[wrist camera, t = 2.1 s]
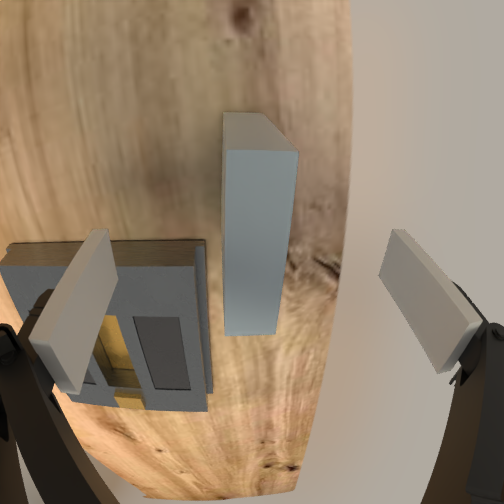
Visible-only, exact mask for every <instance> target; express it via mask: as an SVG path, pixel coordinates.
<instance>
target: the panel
mask: <svg viewBox="0 0 504 504" xmlns="http://www.w3.org/2000/svg"><path fill="white" fill-rule="evenodd" d="M298 158H299V151H298V150H297V149H296V148H295V147H294V146H293V145H292V144H291V142H290V141H289V140H288V139H287V138H286V137H285V136H284V135H283V134H282V133H281V132H280V131H279V130H278V129H277V127H276V126H275V125H274V124H273V123H272V122H271V121H270V120H269V119H268V118H267V117H266V116H265V115H264V114H263V113H250V112H223V144H222V201H221V243H222V276H223V303H224V326H225V336H249V335H273V334H276V327H277V320H278V314H279V307H280V300H281V293H282V286H283V279H284V272H285V265H286V257H287V250H288V242H289V235H290V227H291V219H292V211H293V202H294V194H295V185H296V177H297V168H298Z"/></svg>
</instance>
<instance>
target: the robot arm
mask: <svg viewBox="0 0 504 504" xmlns="http://www.w3.org/2000/svg"><path fill="white" fill-rule="evenodd" d="M379 277H380V279H381V280H382V282H383V283H384V285H385V287H386V288H387V290H388V291H389V293H390V294H391V296H392V297H393V299H394V301H395V302H396V304H397V305H398V307H399V309H400V310H401V312H402V313H403V315H404V317H405V318H406V320H407V322H408V323H409V325H410V327H411V328H412V330H413V332H414V333H415V335H416V337H417V339H418V340H419V342H420V344H421V345H422V347H423V348H424V351H425V352H426V354H427V356H428V358H429V360H430V361H431V363H432V365H433V367H434V368H435V370H436V372H437V374H440V373H443V372H447V371H450V370H451V369H452V368H453V367H454V365H455V364H456V362H457V361H459V362H460V364H461V367H460V368H459V370H458V371H457V372H456V374H455V375H454V377H453V378H452V379H451V381H450V383H449V384H450V385H451V384H452V383H453V381H454V380H456V384H455V385H454V386H455V389H454V394H453V399H452V404H451V408H450V413H449V417H448V421H447V425H446V429H445V433H444V437H443V440H442V444H441V447H440V451H439V454H438V457H437V460H436V463H435V466H434V469H433V473H432V475H431V478H430V481H429V483H428V486H427V489H426V492H425V494H424V497H423V499H422V502H421V504H504V327H503V326H502V325H500V324H498V323H490V324H489V322H488V321H487V320H486V318H485V317H484V316H483V315H482V313H481V312H480V311H479V309H478V308H477V307H476V306H475V304H474V303H472V301H471V300H470V298H469V297H467V295H466V293H465V292H464V291H463V290H462V289H461V287H459V286H458V285H457V284H455V283H454V282H452V281H451V280H450V279H449V278H448V277H447V275H446V274H445V273H444V272H443V271H442V270H441V268H439V266H438V265H437V264H436V263H435V262H434V261H433V259H432V258H431V257H430V256H429V255H428V254H427V253H426V252H425V251H424V250H423V249H422V247H421V246H420V245H419V244H418V243H417V242H416V241H415V240H414V239H413V238H412V237H411V236H410V235H409V234H408V233H407V232H406V230H396V229H393V230H392V232H391V236H390V239H389V243H388V246H387V250H386V253H385V257H384V260H383V263H382V266H381V269H380V273H379ZM117 282H118V276H117V271H116V267H115V262H114V257H113V252H112V247H111V242H110V237H109V232H108V229H92V231H91V232H90V234H89V235H88V237H87V238H86V240H85V241H84V243H83V244H82V246H81V247H80V249H79V250H78V252H77V254H76V255H75V257H74V258H73V260H72V261H71V263H70V265H69V266H68V268H67V269H66V271H65V273H64V274H63V276H62V278H61V279H60V281H59V283H58V284H57V286H56V288H55V289H47V290H46V291H45V292H44V293H42V294H41V295H40V296H39V297H38V299H37V301H36V302H35V304H34V306H33V308H32V309H31V311H30V313H29V316H27V318H26V320H25V322H24V324H23V325H22V327H21V329H20V331H19V333H18V335H16V333H15V331H14V330H13V328H12V326H11V325H9V324H3V323H1V324H0V504H28V499H27V496H26V492H25V488H24V483H23V479H22V474H21V469H20V464H19V459H18V453H17V446H16V442H17V445H18V447H19V450H20V452H21V455H22V457H23V459H24V462H25V464H26V467H27V469H28V471H29V473H30V475H31V478H32V480H33V482H34V484H35V486H36V488H37V490H38V492H39V494H40V496H41V498H42V499H43V501H44V503H45V504H120V503H119V502H118V501H117V499H116V498H115V496H114V495H113V494H112V492H111V491H110V490H109V489H108V487H107V485H106V484H105V482H104V481H103V479H102V478H101V477H100V475H99V474H98V472H97V470H96V469H95V467H94V466H93V464H92V463H91V461H90V460H89V458H88V456H87V455H86V453H85V452H84V450H83V448H82V446H81V445H80V443H79V441H78V439H77V438H76V436H75V434H74V432H73V430H72V429H71V427H70V425H69V423H68V421H67V419H66V417H65V415H64V413H63V411H62V409H61V407H60V405H59V403H58V401H57V399H56V397H55V395H54V394H53V392H52V389H53V386H54V383H55V384H56V385H57V387H58V388H59V390H60V391H61V392H63V393H69V394H76V395H80V391H81V388H82V384H83V381H84V377H85V374H86V370H87V367H88V364H89V361H90V357H91V354H92V351H93V348H94V345H95V342H96V339H97V336H98V333H99V330H100V327H101V324H102V322H103V319H104V316H105V313H106V311H107V308H108V305H109V302H110V300H111V297H112V295H113V292H114V289H115V287H116V284H117Z"/></svg>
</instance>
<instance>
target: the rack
mask: <svg viewBox="0 0 504 504" xmlns="http://www.w3.org/2000/svg"><path fill="white" fill-rule="evenodd" d="M83 243H84V242H72V243H30V244H10V245H9V246H8V247H7V248H6V251H7V254H6V255H5V257H4V258H3V259H2V260H1V262H0V273H1V275H2V278H3V280H4V283H5V285H6V287H7V289H8V292H9V294H10V296H11V298H12V300H13V302H14V305H15V307H16V309H17V311H18V313H19V315H20V317H21V319H22V321H23V323H24V322H25V320H26V318H27V316H29V313H30V311H31V309H32V308H33V306H34V304H35V302H36V301H37V299H38V297H39V296H40V295H41V294H42V293H44V292H45V291H46V290H47V289H55V288H56V286H57V284H58V283H59V281H60V279H61V278H62V276H63V274H64V273H65V271H66V269H67V268H68V266H69V265H70V263H71V261H72V260H73V258H74V257H75V255H76V254H77V252H78V250H79V249H80V247H81V246H82V244H83ZM111 247H112V252H113V257H114V262H115V267H116V271H117V276H118V282H117V284H116V287H115V289H114V292H113V295H112V297H111V300H110V302H109V305H108V308H107V311H106V313H105V316H104V319H103V322H102V324H101V327H100V330H99V333H98V336H97V339H96V342H95V345H94V348H93V351H92V354H91V357H90V361H89V364H88V367H87V370H86V374H85V377H84V381H83V384H82V388H81V391H80V395H76V394H69V393H66V394H67V395H68V396H69V398H70V399H71V401H72V402H79V403H86V404H93V405H101V406H109V407H119V408H129V409H142V410H158V411H187V412H208V396H207V394H209V393H213V383H212V370H211V357H210V342H209V327H208V309H207V290H206V266H205V241H125V242H111Z"/></svg>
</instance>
